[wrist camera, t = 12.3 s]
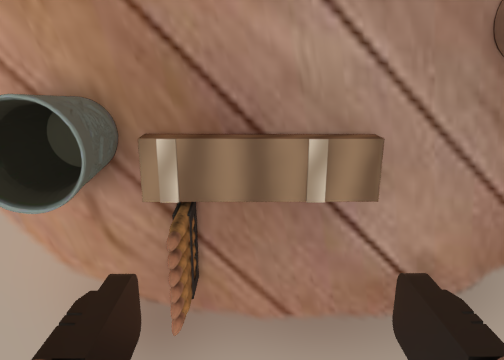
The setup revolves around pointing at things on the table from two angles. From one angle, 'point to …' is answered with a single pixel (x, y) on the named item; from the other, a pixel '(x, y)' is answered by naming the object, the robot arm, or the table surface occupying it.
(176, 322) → the ammunition clip
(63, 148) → the grey-green cup
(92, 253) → the table surface
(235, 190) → the plank
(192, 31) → the table surface
